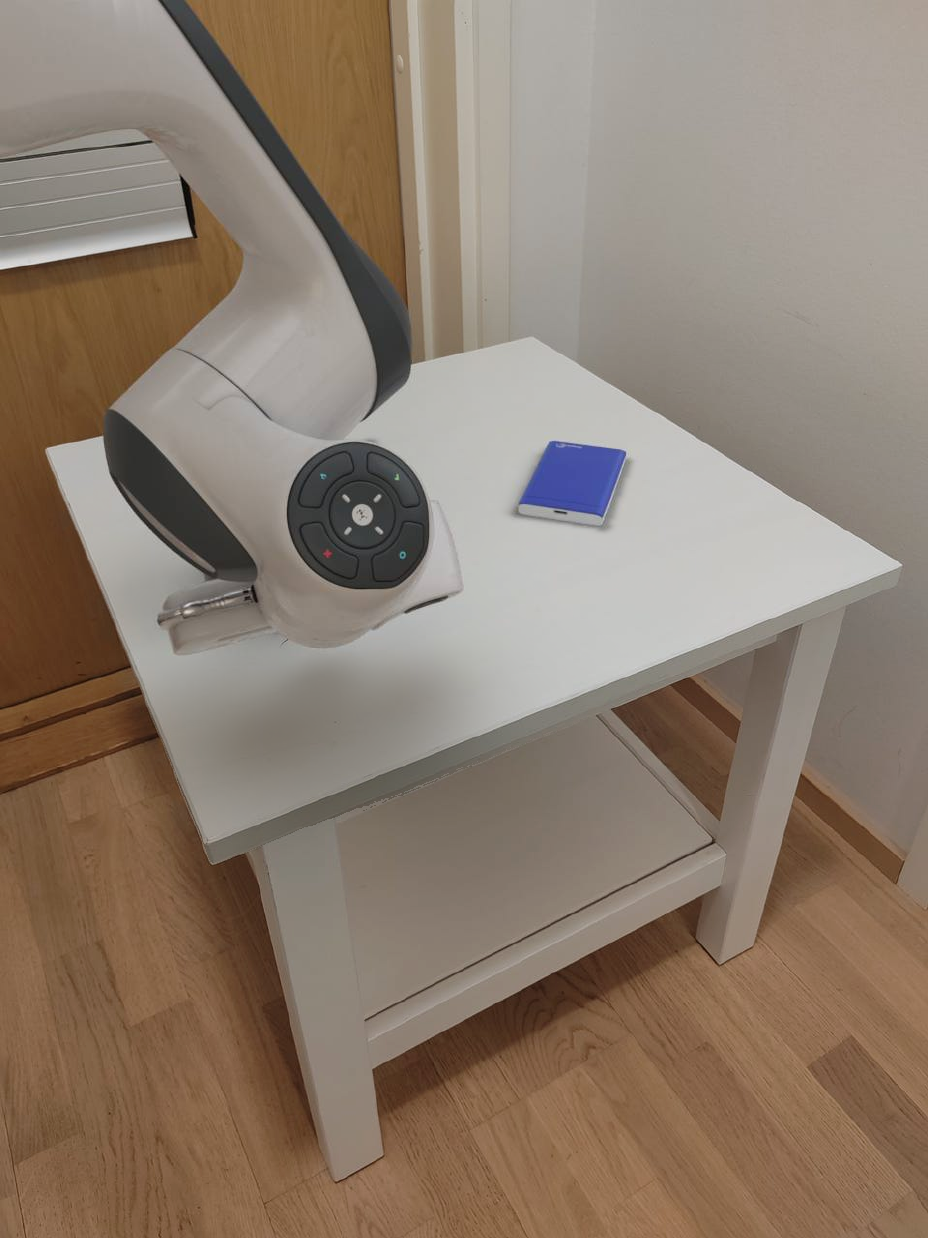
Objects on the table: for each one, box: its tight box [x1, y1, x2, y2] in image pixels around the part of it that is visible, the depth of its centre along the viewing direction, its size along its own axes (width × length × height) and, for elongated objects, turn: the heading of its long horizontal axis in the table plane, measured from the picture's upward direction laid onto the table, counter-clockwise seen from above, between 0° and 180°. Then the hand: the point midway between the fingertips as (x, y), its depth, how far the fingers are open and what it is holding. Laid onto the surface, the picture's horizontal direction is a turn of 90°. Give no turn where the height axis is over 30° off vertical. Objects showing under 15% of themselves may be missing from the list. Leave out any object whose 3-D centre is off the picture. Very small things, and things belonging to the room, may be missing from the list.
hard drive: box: [518, 440, 627, 527], centre depth 95 cm, size 2×8×12 cm
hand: (305, 608), depth 73 cm, fingers closed
